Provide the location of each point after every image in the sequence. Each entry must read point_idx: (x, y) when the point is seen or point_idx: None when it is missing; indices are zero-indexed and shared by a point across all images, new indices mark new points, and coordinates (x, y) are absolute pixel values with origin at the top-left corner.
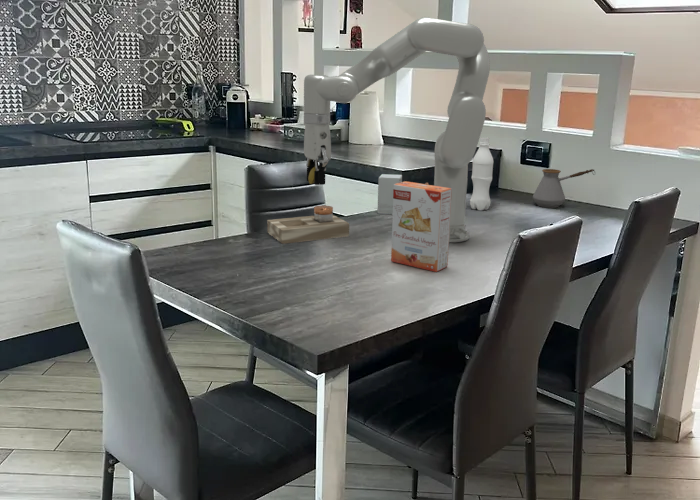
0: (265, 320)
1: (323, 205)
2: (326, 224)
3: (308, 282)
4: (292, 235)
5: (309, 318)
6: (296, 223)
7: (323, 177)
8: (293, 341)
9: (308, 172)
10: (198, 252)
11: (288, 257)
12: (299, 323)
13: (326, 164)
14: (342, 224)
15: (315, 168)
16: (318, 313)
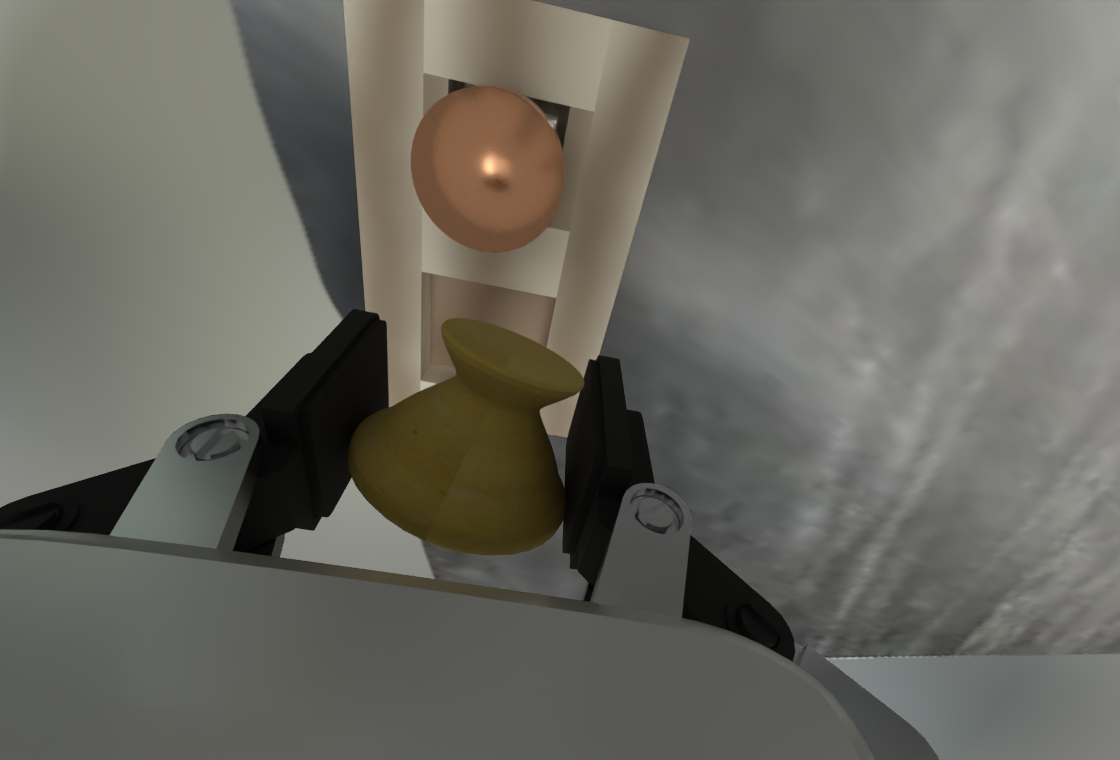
0: (997, 642)
1: (418, 128)
2: (611, 213)
3: (950, 522)
4: None
5: (1086, 606)
6: (428, 286)
7: (644, 441)
8: (1106, 651)
9: (350, 475)
10: (519, 576)
11: (730, 459)
12: (1076, 623)
13: (829, 664)
14: (670, 106)
15: (507, 552)
16: (1094, 589)
